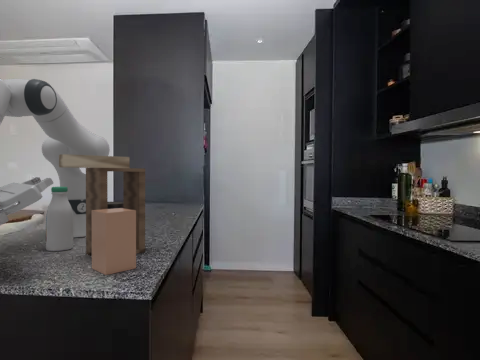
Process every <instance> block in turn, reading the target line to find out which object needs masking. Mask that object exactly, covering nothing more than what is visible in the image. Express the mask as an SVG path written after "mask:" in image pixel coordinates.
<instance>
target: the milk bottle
mask: <svg viewBox="0 0 480 360" xmlns="http://www.w3.org/2000/svg"><path fill="white" fill-rule="evenodd" d="M50 190H51V195H52V196H51V199H50V203H49V204H48V206H47V209H46V212H45V249H46V251H49V252H60V251H68V250H71V249H73V248H74V237H73V211H72V207H71V205H70V203H69V201H68V198H67V191H68V188H67V187H60V186H52V187H51V188H50Z"/></svg>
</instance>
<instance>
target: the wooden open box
mask: <svg viewBox="0 0 480 360" xmlns="http://www.w3.org/2000/svg"><path fill="white" fill-rule="evenodd" d="M108 172H123V173H122V174H123V175H122V176H123V180H122V181H123V184H122V186H123V188H122V189H123V193H122V195H123V198H122V200H123V201H122V202H123V208H124V209H130V210H136V255H138V254H141V253H142V254H143V253H146V168H141V167H140V168H136V167H133V168H131V167H130V168H85V174H86V236H85V255H87V256H89V257H91V258H92V210H102V209H108V202H109V200H108V198H109V197H108Z"/></svg>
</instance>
